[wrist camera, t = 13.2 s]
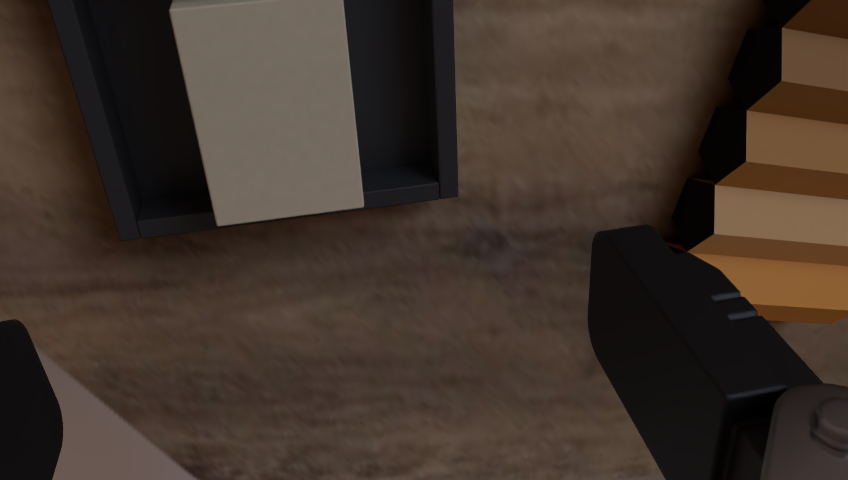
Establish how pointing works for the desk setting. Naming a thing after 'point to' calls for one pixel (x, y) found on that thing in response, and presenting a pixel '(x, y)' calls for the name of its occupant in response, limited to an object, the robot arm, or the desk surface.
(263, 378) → the desk surface
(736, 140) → the pan flute
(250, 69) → the beige pad
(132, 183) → the tray
